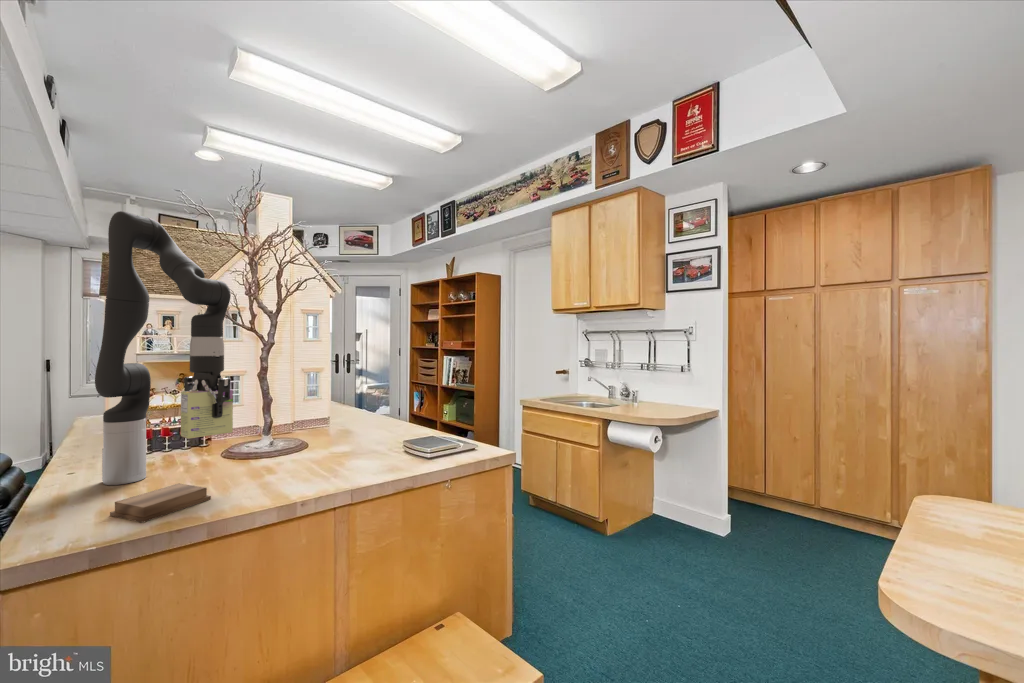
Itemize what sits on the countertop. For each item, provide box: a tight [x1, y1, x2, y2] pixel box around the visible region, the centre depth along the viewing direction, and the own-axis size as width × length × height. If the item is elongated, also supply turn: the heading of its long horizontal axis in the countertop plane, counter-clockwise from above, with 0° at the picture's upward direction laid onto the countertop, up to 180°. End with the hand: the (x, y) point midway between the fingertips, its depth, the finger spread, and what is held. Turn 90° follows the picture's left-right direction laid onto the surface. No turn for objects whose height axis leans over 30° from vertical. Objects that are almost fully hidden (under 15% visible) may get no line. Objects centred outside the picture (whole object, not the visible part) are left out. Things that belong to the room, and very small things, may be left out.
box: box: [180, 388, 234, 440], centre depth 117 cm, size 10×6×12 cm, turn 142°
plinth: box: [109, 483, 212, 523], centre depth 106 cm, size 11×15×3 cm
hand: (207, 416), depth 117 cm, fingers closed on box, 6 cm apart
